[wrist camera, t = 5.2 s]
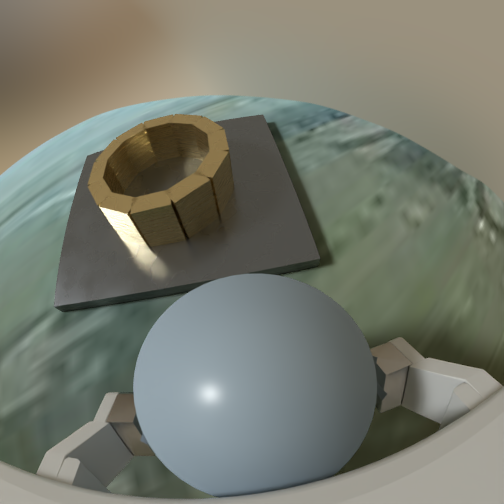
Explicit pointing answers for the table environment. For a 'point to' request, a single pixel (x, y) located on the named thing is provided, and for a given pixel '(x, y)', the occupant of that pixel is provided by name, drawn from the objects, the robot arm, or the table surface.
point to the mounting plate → (199, 245)
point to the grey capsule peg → (254, 386)
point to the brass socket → (175, 198)
